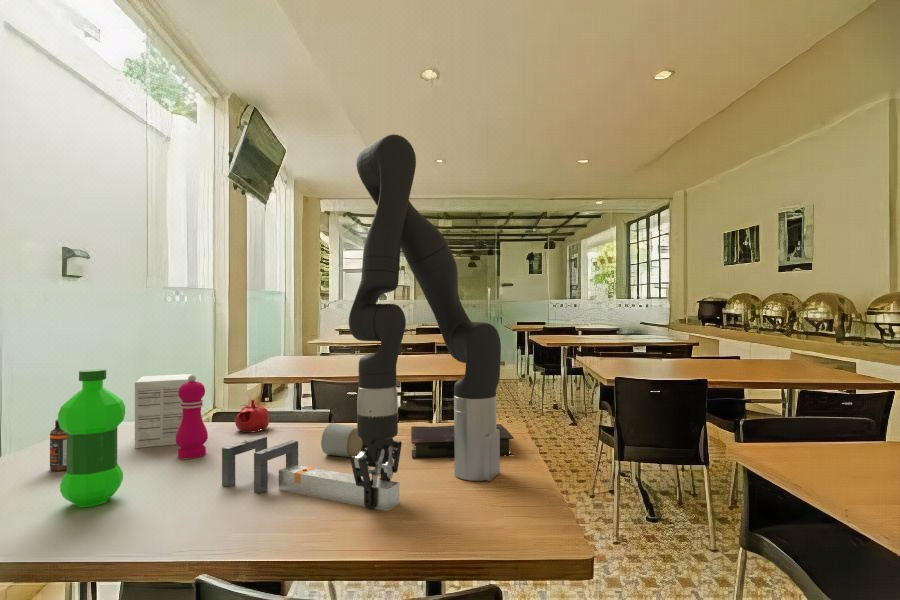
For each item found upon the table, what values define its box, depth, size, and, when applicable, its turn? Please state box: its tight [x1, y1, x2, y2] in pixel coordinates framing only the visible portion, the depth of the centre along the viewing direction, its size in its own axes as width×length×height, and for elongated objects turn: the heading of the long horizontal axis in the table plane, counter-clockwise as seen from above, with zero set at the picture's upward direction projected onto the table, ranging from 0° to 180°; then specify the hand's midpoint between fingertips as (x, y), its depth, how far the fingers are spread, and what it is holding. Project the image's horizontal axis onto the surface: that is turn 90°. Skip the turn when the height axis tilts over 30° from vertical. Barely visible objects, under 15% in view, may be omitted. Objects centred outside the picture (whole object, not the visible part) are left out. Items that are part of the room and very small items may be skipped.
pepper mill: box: [175, 374, 209, 460], centre depth 128 cm, size 7×7×20 cm
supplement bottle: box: [49, 418, 67, 472], centre depth 119 cm, size 6×6×11 cm
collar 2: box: [253, 439, 299, 494], centre depth 107 cm, size 2×11×8 cm, turn 154°
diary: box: [410, 423, 514, 460], centre depth 133 cm, size 19×25×5 cm
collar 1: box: [221, 435, 268, 488], centre depth 110 cm, size 2×11×8 cm, turn 154°
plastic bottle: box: [57, 368, 126, 508], centre depth 98 cm, size 10×10×25 cm
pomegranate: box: [234, 398, 270, 433], centre depth 155 cm, size 10×10×9 cm
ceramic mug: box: [320, 422, 362, 458], centre depth 129 cm, size 11×8×8 cm
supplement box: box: [134, 373, 194, 449], centre depth 143 cm, size 13×13×18 cm
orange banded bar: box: [278, 464, 401, 512], centre depth 100 cm, size 26×4×4 cm, turn 64°
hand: (377, 502), depth 96 cm, fingers closed on orange banded bar, 4 cm apart
